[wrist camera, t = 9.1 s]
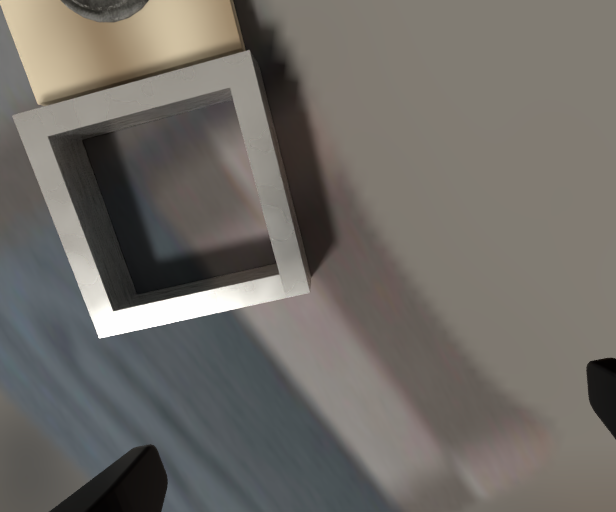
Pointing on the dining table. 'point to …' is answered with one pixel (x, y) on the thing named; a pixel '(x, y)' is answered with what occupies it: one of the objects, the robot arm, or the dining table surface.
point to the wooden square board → (116, 43)
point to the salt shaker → (105, 9)
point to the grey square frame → (94, 217)
